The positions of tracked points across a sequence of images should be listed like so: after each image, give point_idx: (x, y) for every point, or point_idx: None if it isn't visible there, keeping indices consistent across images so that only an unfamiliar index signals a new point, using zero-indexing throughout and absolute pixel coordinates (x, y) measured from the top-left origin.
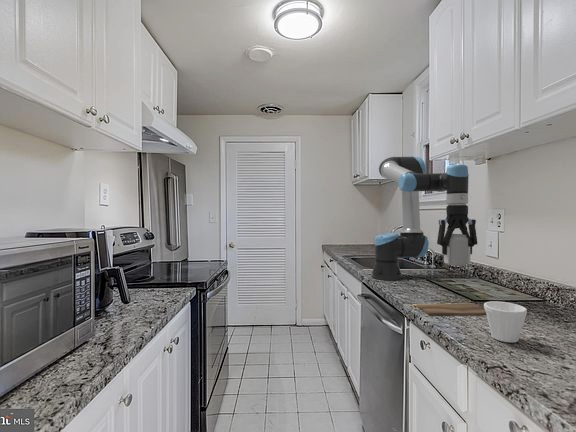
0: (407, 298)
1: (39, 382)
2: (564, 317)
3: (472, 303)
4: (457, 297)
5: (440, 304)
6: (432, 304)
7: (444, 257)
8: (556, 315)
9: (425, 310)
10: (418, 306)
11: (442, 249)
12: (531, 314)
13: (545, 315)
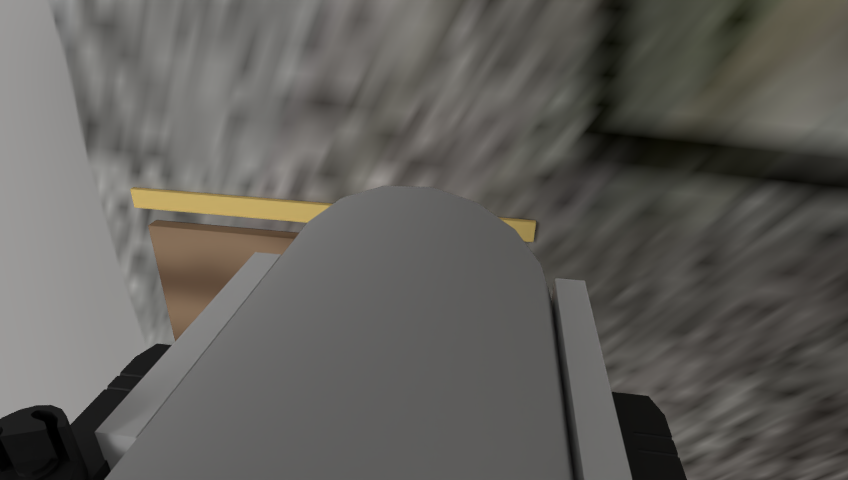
0: (128, 33)
1: None
2: (834, 466)
3: (520, 224)
4: (531, 42)
5: (287, 243)
6: (239, 237)
7: (222, 298)
8: (830, 442)
9: (171, 320)
10: (155, 244)
11: (95, 412)
12: (710, 411)
13: (769, 433)
